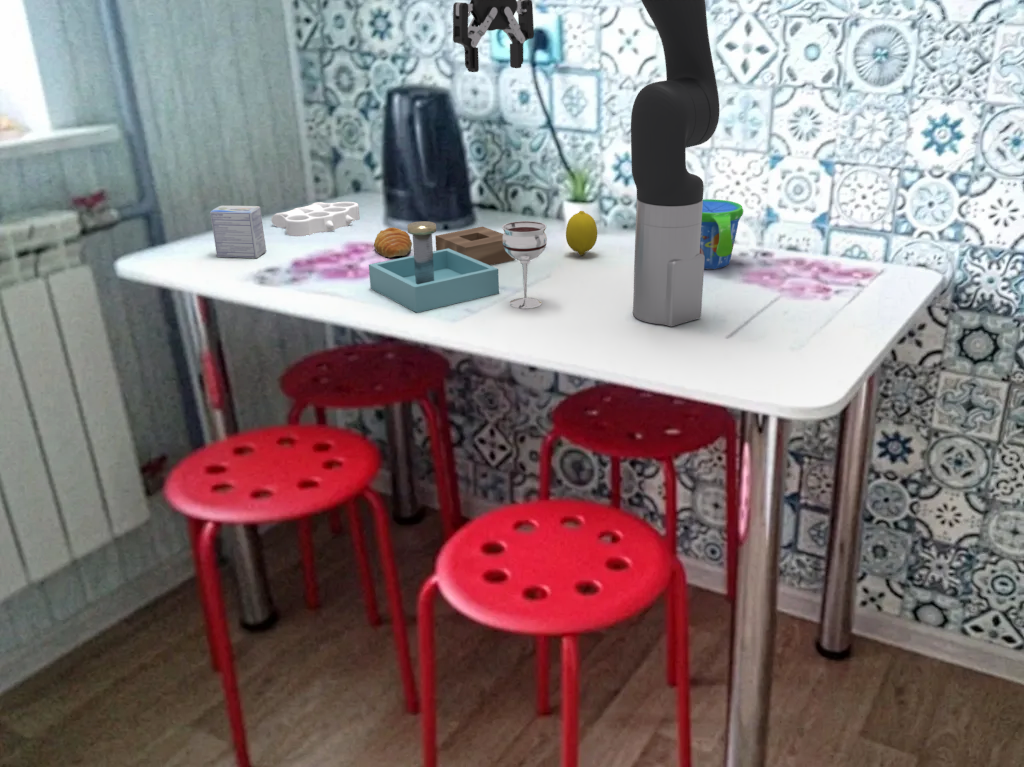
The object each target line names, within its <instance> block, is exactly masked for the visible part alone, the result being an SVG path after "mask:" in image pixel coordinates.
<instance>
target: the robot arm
mask: <svg viewBox="0 0 1024 767" xmlns="http://www.w3.org/2000/svg"><path fill="white" fill-rule="evenodd" d="M640 1H641V3H642V5H643V7H644V9H645V10H646V12H647V13H648V14H647V15H649V17H650V19H651V21H652V22H653V25H654V26H655V29H656V31H657V33H658V36H659V38H660V41H661V44H662V48H663V54H664V60H665V61H664V62H665V72H666V79H665V80H660V81H656V82H651V83H649V84H646V85H645V86H644V87H642V88H641V89H640V90H639V91H638V93H637V95H636V97H635V98H634V102H633V105H632V109H631V117H630V148H631V149H630V153H631V155H630V156H631V175H632V179H633V181H634V185H635V188H636V205H635V206H636V207H635V208H636V209H635V211H636V212H635V239H634V261H633V262H634V263H633V264H634V265H633V295H632V298H633V299H632V302H633V303H632V314H633V316H634V317H635V319H637V320H640V321H642V322H645V323H649V324H655V325H656V324H657V325H665V326H668V327H674V326H678V325H681V324H685V323H687V322H690V321H691V322H692V321H694V320H698V319H701V318H702V305H703V304H702V303H703V291H704V290H703V289H704V275H705V274H704V273H705V269H704V261H705V257H704V255H703V254H700V238H701V220H702V206H703V199H704V190H705V189H704V187H705V186H704V181H703V179H702V178H701V177H700V176H698V175H696V174H693V173H690V172H689V170H688V169H687V164H686V162H687V160H686V157H687V156H686V148H687V149H688V148H691V147H696V146H699V145H702V144H705V143H706V142H708V141H709V140H710V139H711V138H712V137H713V135H714V134H715V132H716V130H717V128H718V125H719V119H720V98H719V97H720V96H719V91H718V85H717V79H716V78H717V77H716V74H715V68H714V62H713V56H712V51H711V46H710V45H711V44H710V37H709V30H708V19H707V9H706V7H707V6H706V0H640ZM533 8H534V7H533V1H532V0H470V2H469V3H467V2H458V1H455V2H454V3H453V7H452V10H453V11H452V21H453V22H452V41H453V42H454V43H455V44H459V45H462V46H463V48H464V65H465V68H466V69H467V71H468V72H470V73H478V72H479V69H480V68H479V47H477V46H478V45H479V43H480V40H481V39H482V37H483V36H485V35H486V33H487V32H488V31H496V30H499V31H500V30H501V31H503V32H504V33H505V34H506V36H507V37H508V39H509V41H510V42H511V43H509V63H510V64H509V66H510V67H511V69H521V68H522V65H524V64H523V63H524V43H525V42H526V41H527V40H529V39H530V40H532V39H533V38H534V36H535V29H534V10H533ZM515 13H517V15H518V21H517V18H515ZM471 15H472V17H473V18H472V19H471V21H470V23H469V17H470V16H471Z"/></svg>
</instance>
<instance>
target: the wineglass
mask: <svg viewBox="0 0 1024 767" xmlns="http://www.w3.org/2000/svg"><path fill="white" fill-rule="evenodd" d="M501 228H502V230H503V232H504V233H502V234H503V238H502V245H503V248H504V250H505V251H506V252H507V253H508V254H509V255H510V256H511V257H512V258H514V259H515V260H517V261H519V263H520V264H521V265H522V282H523V283H522V284H523V297H519V298H515V299H514V298H513V299H512V300H510V301H509V303H508V304H509V305H510V306H511V307H513V308H515V309H533V308H537V307H540V306H541V305H542V300H540V299H537V298H533V297H528V296H527V294H528V293H527V292H528V288H527V287H528V286H527V285H528V264H530V262H531V261H532V260H534V259H537V258H539V256H540V255H541V254H542V253H543V252H544V251H545V250H546V247H547V242H548V238H547V234H546V233H545V232H546V231H545V230H546V229H547V225H546V223H543V222H539V221H533V220H518V221H511V222H507V223H504V224H503V225H502V226H501Z"/></svg>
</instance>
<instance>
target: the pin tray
mask: <svg viewBox="0 0 1024 767" xmlns="http://www.w3.org/2000/svg"><path fill="white" fill-rule="evenodd" d="M433 264H434V281H431V282H427V283H422V284H416V282H415V266H414V254H412V255H410V256H402V257H399V258H395V259H389V260H384V261H379V262H376V263H370V264H368V271H369V285H370V289H371V290H373V291H375V292H376V293H379V294H380V295H382V296H384V297H385V298H388V299H390V300H392V301H393V302H396V303H398V304H399V305H401V306H402V307H405V308H407V309H409V310H411V311H413V312H415V313H416V314H417V313H421V312H425V311H429V310H433V309H438V308H439V309H440V308H443V307H446V306H450V305H451V306H452V305H454V304H460V303H463V302H467V301H468V302H469V301H471V300H477V299H481V298H484V297H488V296H493V295H496V294H499V293H500V289H499V288H500V287H499V286H500V282H499V275H500V274H499V268H497V267H495V266H494V265H488V264H485V263H483V262H480V261H478V260H475V259H473V258H471V257H468V256H466V255H463V254H461V253H458V252H456V251H454V250H451V249H449V248H448V249H443V250H438V251H436V250H433Z"/></svg>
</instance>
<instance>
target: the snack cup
mask: <svg viewBox="0 0 1024 767" xmlns="http://www.w3.org/2000/svg"><path fill="white" fill-rule="evenodd" d="M743 215H744V209H743V206H742V205H741V204H740V203H738V202H734V201H730V200H726V199H725V200H724V199H712V198H710V199H709V198H708V199H707V198H706V199H705V198H703V206H702V220H701V238H700V254H703V255H704V257H705V261H704V270H705V269H706V270H716V269H721V268H722V269H723V268H724V267H726V266H729V265H730V262H731V258H732V254H733V250H734V246H735V241H736V236H737V230H738V226H739V221H740V219H741V217H742V216H743Z"/></svg>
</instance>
